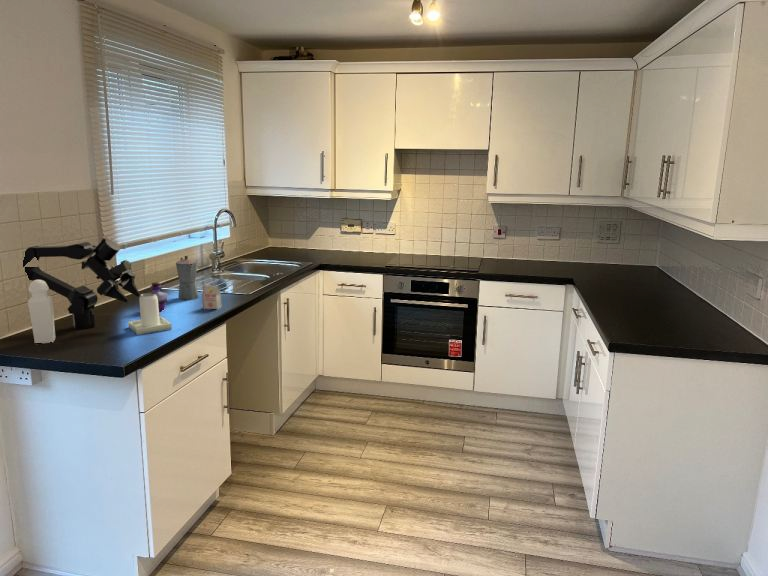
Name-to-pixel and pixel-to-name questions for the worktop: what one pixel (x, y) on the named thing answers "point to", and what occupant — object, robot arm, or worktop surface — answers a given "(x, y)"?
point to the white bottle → (41, 312)
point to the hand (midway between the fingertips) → (133, 298)
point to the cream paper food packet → (211, 297)
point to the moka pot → (187, 279)
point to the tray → (139, 329)
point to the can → (149, 309)
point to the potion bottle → (159, 295)
